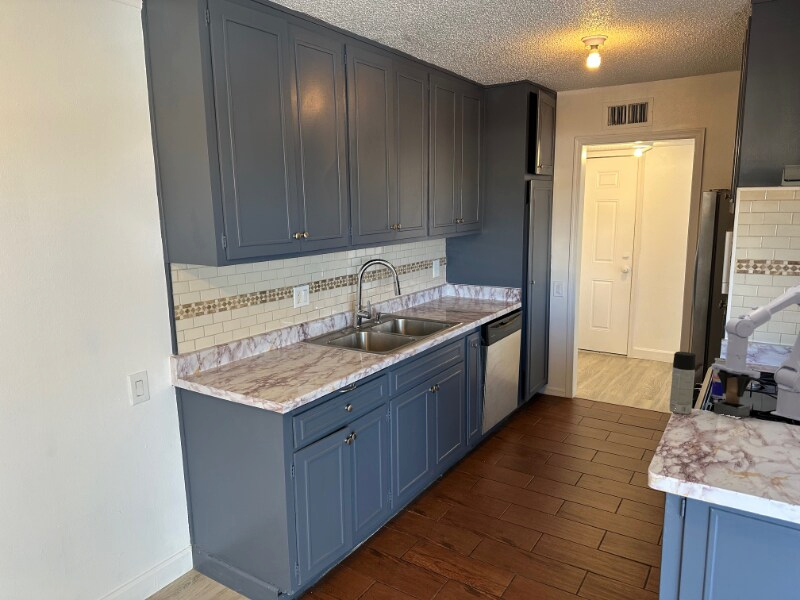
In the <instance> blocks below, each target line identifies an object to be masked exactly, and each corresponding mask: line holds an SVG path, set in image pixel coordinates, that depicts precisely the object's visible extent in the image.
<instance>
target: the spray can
mask: <svg viewBox="0 0 800 600" xmlns="http://www.w3.org/2000/svg"><path fill="white" fill-rule="evenodd" d="M696 357H697V356H696V354H695V353H692V352H688V351H676V352H675V353H674V354H673V363H672V373H671V385H670V386H671V387H670V388H671V389H670V395H669V396H670V397H669V398H670V399H669V411H670V412H672V413H675V414H680V415H689V414H691V413H692V409H693V395H694V383H695V375H696ZM675 408H676V409H675ZM674 410H675V411H674Z"/></svg>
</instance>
